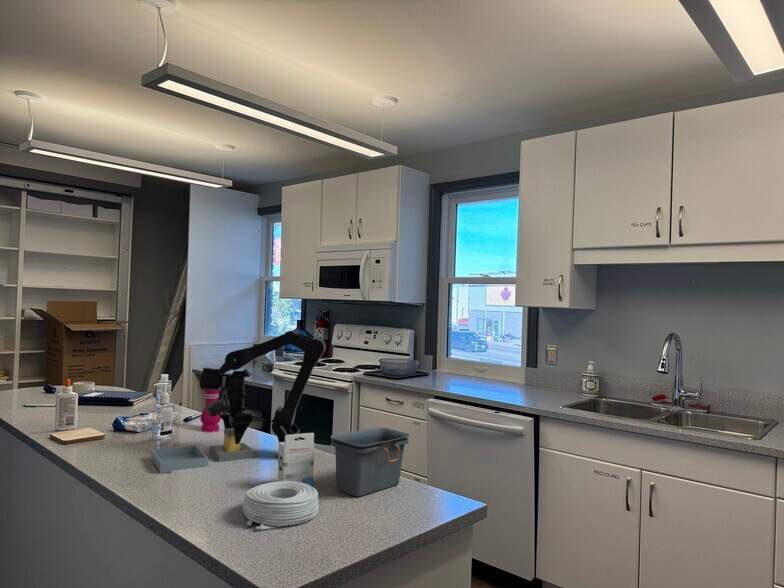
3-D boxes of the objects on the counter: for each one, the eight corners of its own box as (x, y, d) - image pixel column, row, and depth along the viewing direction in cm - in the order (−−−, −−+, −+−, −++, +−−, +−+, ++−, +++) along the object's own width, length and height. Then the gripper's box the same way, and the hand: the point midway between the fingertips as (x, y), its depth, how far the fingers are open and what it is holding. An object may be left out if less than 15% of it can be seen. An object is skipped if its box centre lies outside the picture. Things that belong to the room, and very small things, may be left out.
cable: (248, 534, 120) (249, 506, 120) (236, 506, 136) (237, 480, 136) (327, 524, 127) (328, 498, 127) (307, 498, 143) (308, 474, 143)
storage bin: (378, 473, 165) (380, 425, 165) (418, 487, 154) (420, 435, 155) (322, 489, 149) (325, 435, 149) (363, 506, 139) (366, 448, 139)
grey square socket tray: (254, 459, 174) (254, 451, 174) (218, 463, 168) (219, 455, 168) (243, 450, 183) (243, 442, 183) (209, 454, 177) (209, 446, 177)
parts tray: (207, 467, 163) (208, 457, 163) (160, 473, 156) (160, 462, 156) (195, 454, 176) (195, 445, 176) (150, 459, 169) (151, 449, 169)
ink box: (307, 482, 155) (309, 428, 155) (313, 487, 150) (315, 432, 151) (276, 485, 151) (279, 430, 151) (281, 491, 146) (284, 434, 147)
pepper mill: (224, 430, 209) (226, 376, 210) (208, 433, 203) (211, 378, 204) (211, 426, 213) (213, 374, 214) (195, 430, 207) (198, 376, 207)
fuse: (240, 456, 175) (241, 430, 175) (226, 457, 173) (228, 431, 173) (236, 452, 178) (237, 427, 179) (223, 454, 176) (224, 428, 176)
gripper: (201, 387, 179) (198, 436, 179) (217, 397, 164) (214, 450, 163) (235, 385, 185) (233, 433, 185) (254, 395, 170) (251, 446, 169)
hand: (232, 440), depth 176 cm, fingers open, 9 cm apart
